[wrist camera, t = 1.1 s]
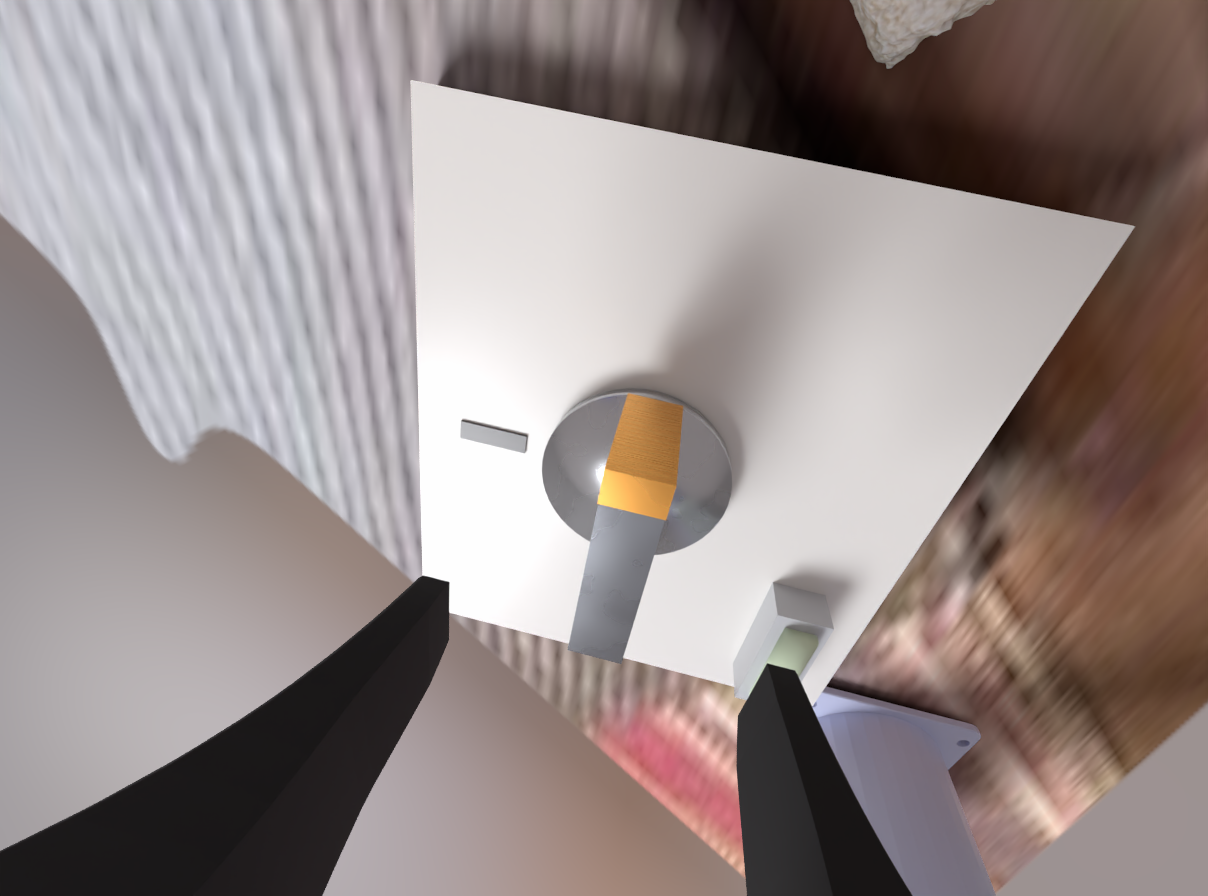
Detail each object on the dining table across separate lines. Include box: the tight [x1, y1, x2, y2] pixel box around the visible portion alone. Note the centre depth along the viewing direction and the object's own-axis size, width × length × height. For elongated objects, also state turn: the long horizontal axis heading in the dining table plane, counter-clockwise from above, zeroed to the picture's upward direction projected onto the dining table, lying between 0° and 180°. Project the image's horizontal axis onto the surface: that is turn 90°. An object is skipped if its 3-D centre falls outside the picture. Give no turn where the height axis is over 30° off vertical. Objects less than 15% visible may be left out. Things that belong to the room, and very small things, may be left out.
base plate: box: [411, 80, 1135, 706], centre depth 18 cm, size 20×18×4 cm
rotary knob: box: [542, 388, 732, 664], centre depth 15 cm, size 7×6×5 cm
